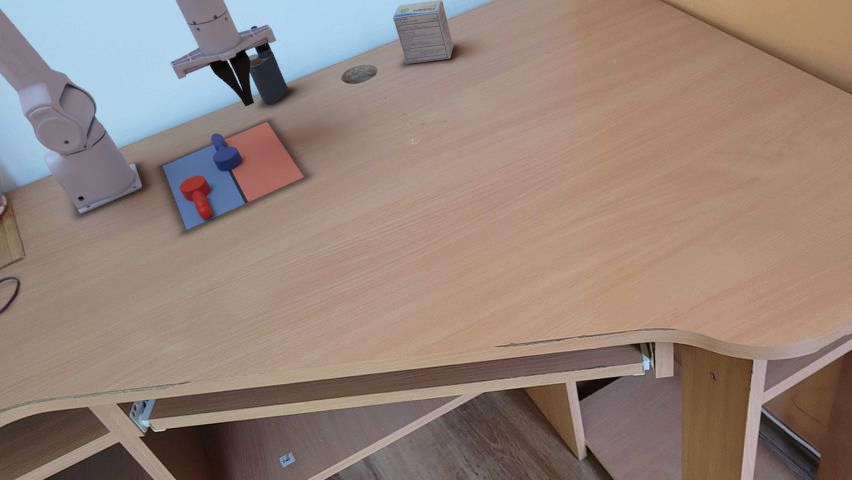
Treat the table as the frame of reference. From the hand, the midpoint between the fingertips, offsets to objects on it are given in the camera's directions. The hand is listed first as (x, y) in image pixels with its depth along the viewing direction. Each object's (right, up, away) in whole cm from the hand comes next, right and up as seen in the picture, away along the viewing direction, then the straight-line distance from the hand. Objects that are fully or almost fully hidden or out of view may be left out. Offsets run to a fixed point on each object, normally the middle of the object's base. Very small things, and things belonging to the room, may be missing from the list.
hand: (248, 102), depth 106 cm
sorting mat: (-3, -10, +1) cm, 11 cm away
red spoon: (-5, -15, -4) cm, 17 cm away
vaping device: (-1, +5, +16) cm, 16 cm away
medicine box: (+26, +12, +17) cm, 33 cm away
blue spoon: (-5, -7, +4) cm, 10 cm away
